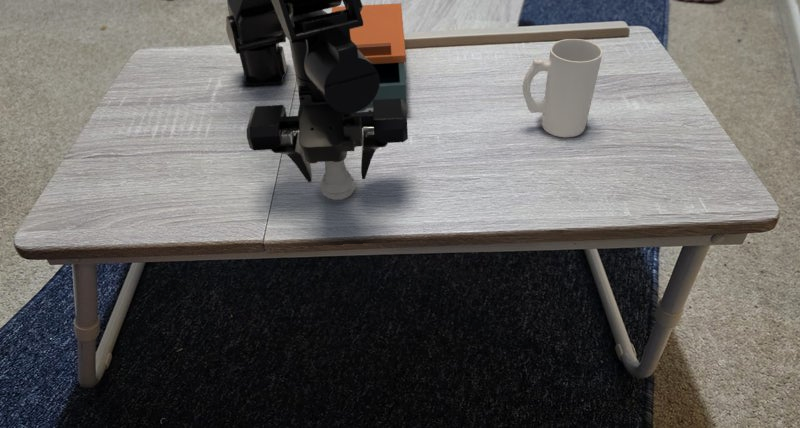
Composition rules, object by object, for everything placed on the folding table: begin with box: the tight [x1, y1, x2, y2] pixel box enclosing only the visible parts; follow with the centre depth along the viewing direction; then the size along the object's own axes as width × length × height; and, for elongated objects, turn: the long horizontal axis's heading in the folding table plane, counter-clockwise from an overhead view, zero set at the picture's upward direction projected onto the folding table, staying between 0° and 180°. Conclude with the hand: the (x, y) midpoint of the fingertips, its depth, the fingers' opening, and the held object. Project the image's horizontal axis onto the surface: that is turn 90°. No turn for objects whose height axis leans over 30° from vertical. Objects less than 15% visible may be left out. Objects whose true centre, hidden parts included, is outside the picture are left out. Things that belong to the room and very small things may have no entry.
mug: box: [522, 38, 604, 138], centre depth 81 cm, size 10×7×12 cm, turn 92°
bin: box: [358, 62, 408, 115], centre depth 93 cm, size 19×12×6 cm, turn 2°
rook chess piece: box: [320, 159, 356, 201], centre depth 73 cm, size 4×4×8 cm
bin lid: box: [331, 2, 407, 64], centre depth 96 cm, size 20×12×3 cm, turn 2°
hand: (337, 178), depth 75 cm, fingers open, 7 cm apart
